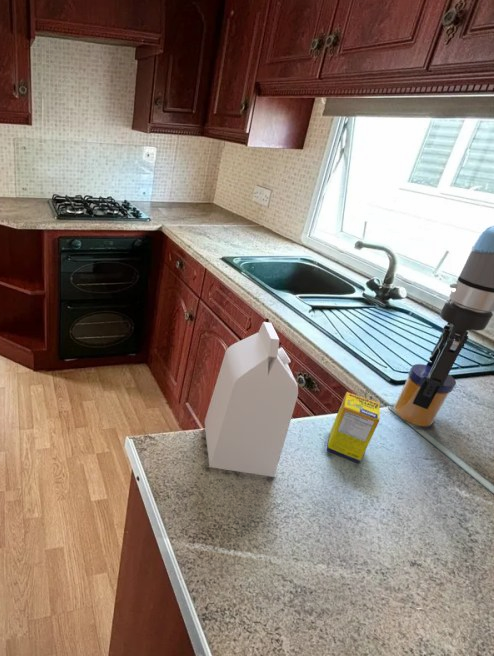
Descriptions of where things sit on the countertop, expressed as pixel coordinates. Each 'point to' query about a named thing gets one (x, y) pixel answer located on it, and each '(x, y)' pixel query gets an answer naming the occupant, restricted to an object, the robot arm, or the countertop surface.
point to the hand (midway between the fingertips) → (421, 396)
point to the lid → (424, 370)
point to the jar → (414, 412)
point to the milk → (251, 405)
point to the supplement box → (353, 427)
